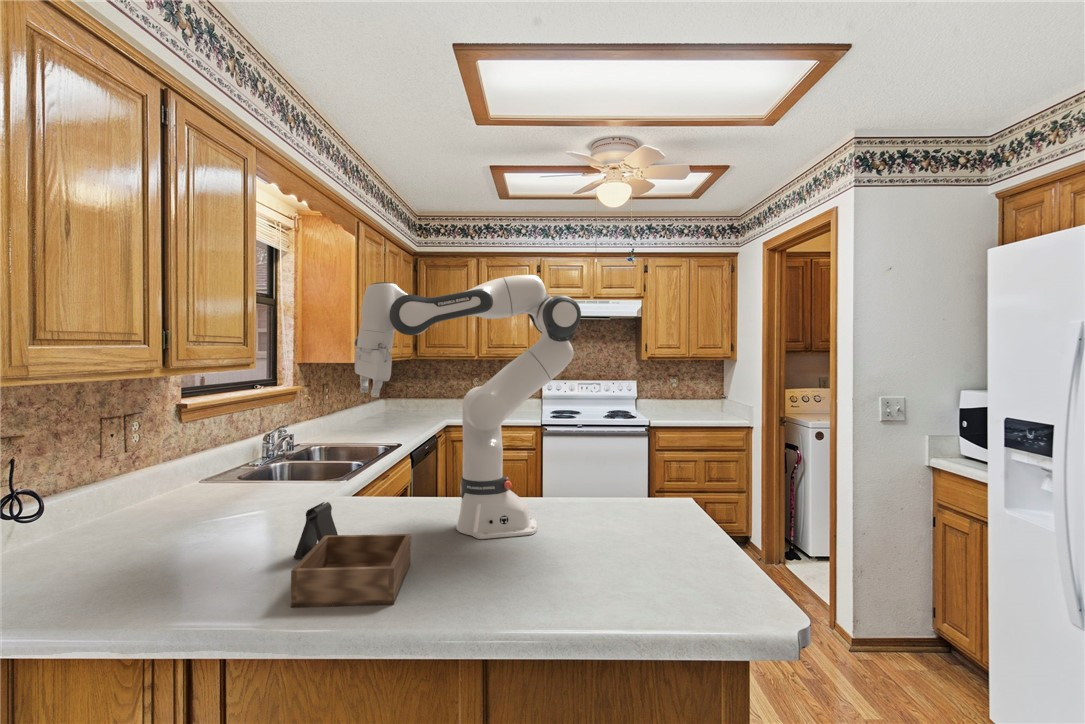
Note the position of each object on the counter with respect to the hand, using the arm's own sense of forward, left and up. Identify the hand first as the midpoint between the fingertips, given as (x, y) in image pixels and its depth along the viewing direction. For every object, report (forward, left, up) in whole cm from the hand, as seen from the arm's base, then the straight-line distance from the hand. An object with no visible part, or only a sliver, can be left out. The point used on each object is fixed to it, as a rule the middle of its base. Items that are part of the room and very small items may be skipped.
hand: (369, 394), depth 137 cm
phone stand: (+8, +14, -37) cm, 41 cm away
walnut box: (-5, +30, -37) cm, 48 cm away
